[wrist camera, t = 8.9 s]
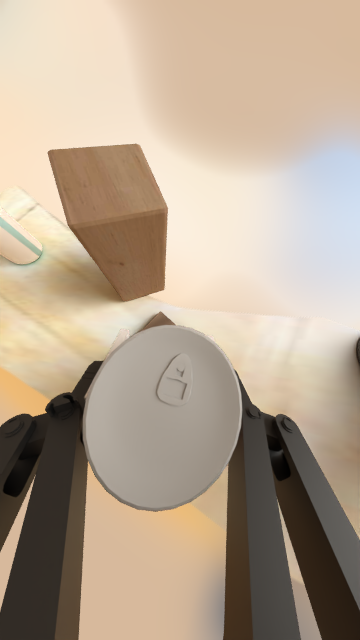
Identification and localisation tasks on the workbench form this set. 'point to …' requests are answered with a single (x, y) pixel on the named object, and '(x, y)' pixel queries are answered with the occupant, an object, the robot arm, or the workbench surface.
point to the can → (17, 241)
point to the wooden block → (115, 213)
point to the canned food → (162, 418)
